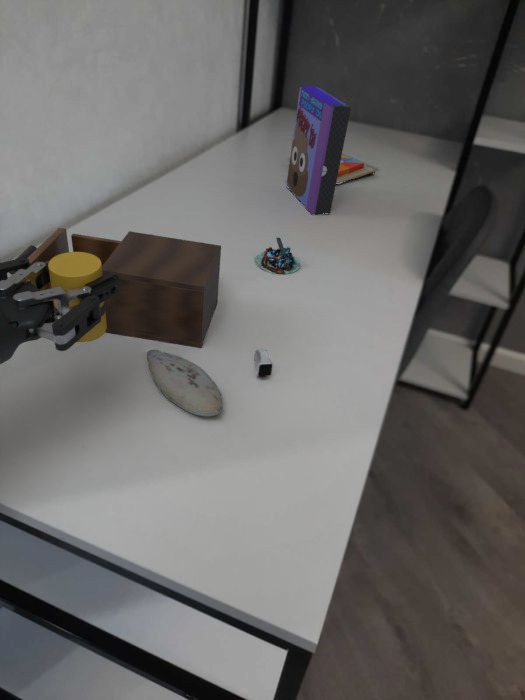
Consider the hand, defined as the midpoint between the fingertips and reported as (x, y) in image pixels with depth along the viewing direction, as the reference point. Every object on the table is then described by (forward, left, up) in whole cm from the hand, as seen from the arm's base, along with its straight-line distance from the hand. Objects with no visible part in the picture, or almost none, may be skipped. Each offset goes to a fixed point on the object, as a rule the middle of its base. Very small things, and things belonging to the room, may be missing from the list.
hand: (96, 271), depth 54 cm
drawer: (-13, +21, -19) cm, 31 cm away
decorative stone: (+8, +5, -20) cm, 22 cm away
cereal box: (+21, +80, -20) cm, 85 cm away
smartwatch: (+18, +11, -20) cm, 29 cm away
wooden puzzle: (+27, +105, -20) cm, 111 cm away
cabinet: (+1, +21, -20) cm, 29 cm away
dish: (+17, +45, -20) cm, 52 cm away
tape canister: (-1, -2, -6) cm, 7 cm away
